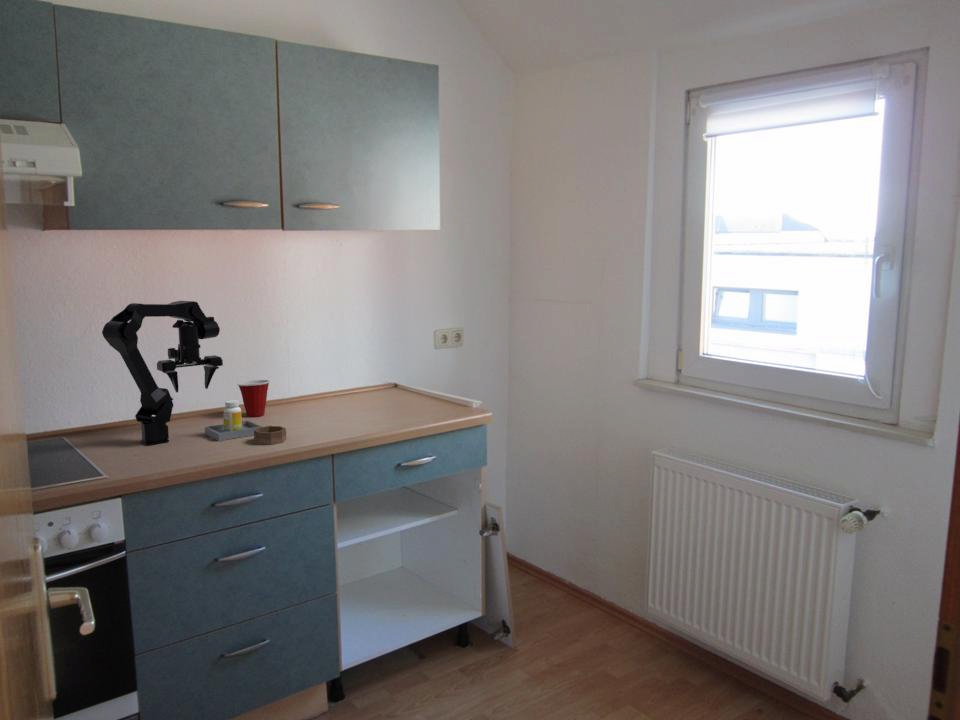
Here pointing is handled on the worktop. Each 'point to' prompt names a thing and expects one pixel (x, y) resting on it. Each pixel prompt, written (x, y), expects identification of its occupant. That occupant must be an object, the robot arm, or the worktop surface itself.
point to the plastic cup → (254, 396)
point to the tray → (219, 433)
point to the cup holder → (270, 435)
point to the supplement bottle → (232, 416)
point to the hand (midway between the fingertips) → (191, 390)
